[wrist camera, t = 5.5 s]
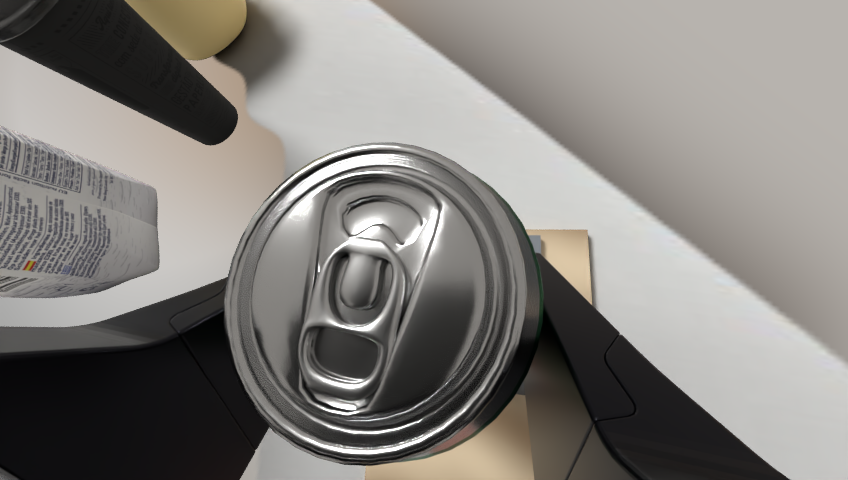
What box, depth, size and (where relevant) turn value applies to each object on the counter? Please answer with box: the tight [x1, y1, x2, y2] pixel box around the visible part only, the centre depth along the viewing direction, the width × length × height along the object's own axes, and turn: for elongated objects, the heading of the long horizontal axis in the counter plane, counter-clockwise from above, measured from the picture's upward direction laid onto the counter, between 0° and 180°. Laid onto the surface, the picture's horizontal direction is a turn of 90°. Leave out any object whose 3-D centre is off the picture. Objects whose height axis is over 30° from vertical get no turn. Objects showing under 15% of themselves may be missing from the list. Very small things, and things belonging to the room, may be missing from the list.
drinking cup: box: [0, 0, 238, 145], centre depth 21 cm, size 8×8×20 cm
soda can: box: [224, 143, 544, 466], centre depth 10 cm, size 5×5×12 cm
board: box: [365, 230, 592, 480], centre depth 19 cm, size 24×14×1 cm, turn 177°
